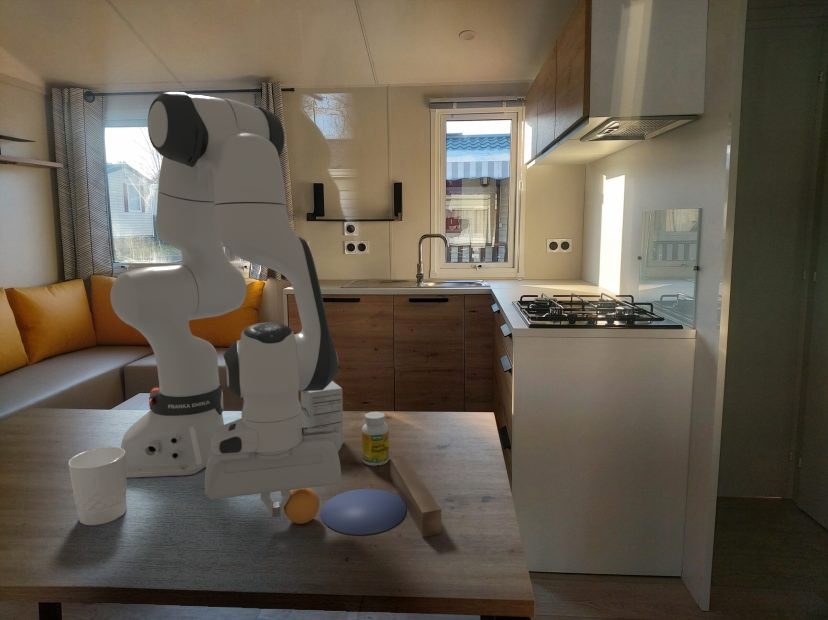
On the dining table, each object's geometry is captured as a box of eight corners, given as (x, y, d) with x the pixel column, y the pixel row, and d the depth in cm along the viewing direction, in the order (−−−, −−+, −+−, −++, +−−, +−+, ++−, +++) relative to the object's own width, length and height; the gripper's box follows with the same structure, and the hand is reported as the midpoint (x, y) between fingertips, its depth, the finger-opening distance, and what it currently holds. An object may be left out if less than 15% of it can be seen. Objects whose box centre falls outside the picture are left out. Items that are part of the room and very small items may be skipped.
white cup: (70, 532, 82) (63, 471, 81) (79, 508, 89) (73, 451, 88) (128, 521, 85) (122, 462, 84) (132, 498, 92) (127, 443, 91)
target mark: (326, 541, 80) (326, 540, 80) (316, 496, 93) (316, 495, 93) (416, 526, 84) (416, 525, 84) (394, 485, 97) (394, 484, 97)
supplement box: (301, 438, 119) (299, 382, 117) (333, 432, 122) (332, 378, 120) (310, 450, 112) (308, 392, 110) (344, 443, 115) (343, 387, 113)
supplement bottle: (380, 452, 111) (380, 408, 109) (394, 462, 106) (393, 416, 105) (357, 459, 108) (356, 413, 106) (370, 469, 103) (369, 421, 102)
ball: (284, 532, 82) (286, 498, 81) (281, 514, 87) (282, 482, 86) (320, 528, 84) (322, 495, 83) (315, 511, 89) (317, 479, 88)
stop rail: (422, 537, 81) (422, 512, 80) (390, 477, 100) (390, 457, 99) (441, 533, 82) (441, 509, 81) (405, 475, 101) (405, 455, 100)
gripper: (339, 417, 87) (341, 497, 89) (205, 429, 82) (211, 513, 84) (343, 431, 81) (346, 516, 83) (199, 445, 76) (205, 535, 78)
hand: (276, 515), depth 84 cm, fingers closed
